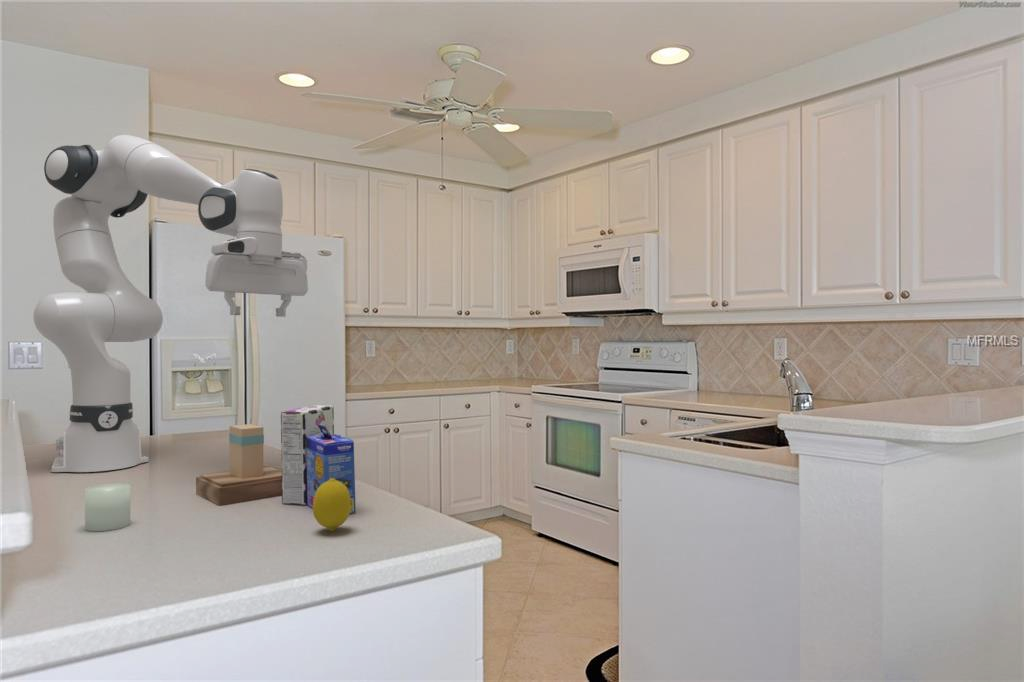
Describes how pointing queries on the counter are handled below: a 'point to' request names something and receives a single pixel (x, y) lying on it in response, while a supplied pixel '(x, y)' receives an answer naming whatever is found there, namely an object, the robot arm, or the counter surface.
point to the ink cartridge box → (330, 463)
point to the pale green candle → (107, 506)
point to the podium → (239, 486)
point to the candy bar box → (300, 447)
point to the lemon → (331, 504)
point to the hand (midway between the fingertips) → (258, 315)
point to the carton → (246, 451)
